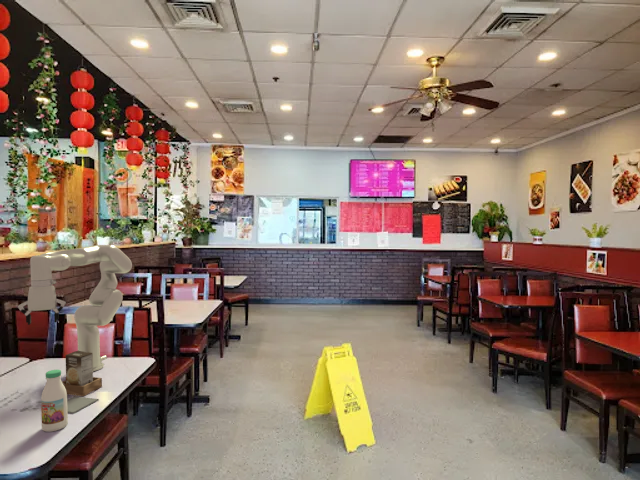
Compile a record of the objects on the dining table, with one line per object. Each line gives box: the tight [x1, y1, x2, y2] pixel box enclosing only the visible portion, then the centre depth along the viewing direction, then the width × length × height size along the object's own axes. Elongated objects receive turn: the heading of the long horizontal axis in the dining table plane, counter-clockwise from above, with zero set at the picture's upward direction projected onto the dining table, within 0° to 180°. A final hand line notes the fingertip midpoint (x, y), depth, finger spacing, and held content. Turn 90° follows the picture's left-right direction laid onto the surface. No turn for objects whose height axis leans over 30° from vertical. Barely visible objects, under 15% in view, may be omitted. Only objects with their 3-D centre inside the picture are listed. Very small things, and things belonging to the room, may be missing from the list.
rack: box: [62, 376, 103, 397], centre depth 178 cm, size 10×13×4 cm
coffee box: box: [65, 350, 94, 386], centre depth 177 cm, size 9×6×16 cm
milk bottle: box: [40, 369, 69, 433], centre depth 145 cm, size 8×8×20 cm
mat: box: [67, 395, 99, 415], centre depth 163 cm, size 12×12×1 cm
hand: (42, 322), depth 178 cm, fingers open, 9 cm apart
